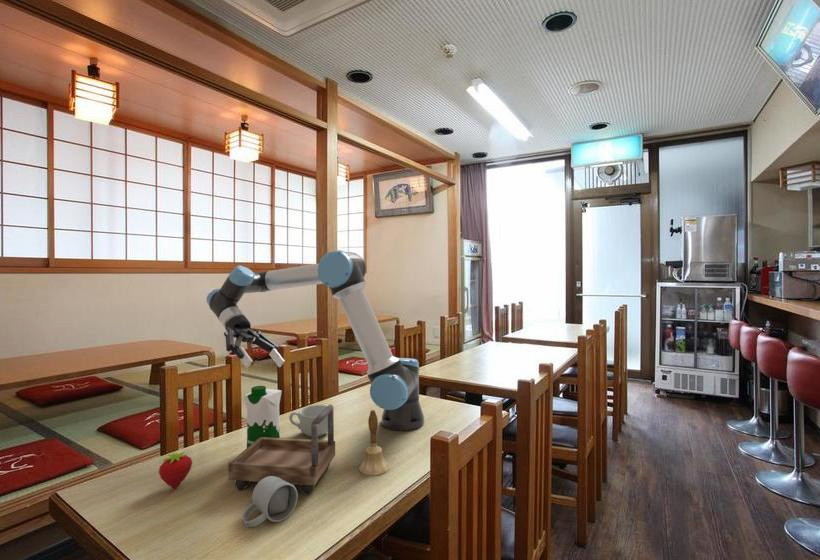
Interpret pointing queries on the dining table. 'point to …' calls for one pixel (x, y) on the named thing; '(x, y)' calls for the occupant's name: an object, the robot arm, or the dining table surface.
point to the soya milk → (262, 413)
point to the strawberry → (175, 469)
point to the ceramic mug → (271, 501)
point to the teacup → (310, 419)
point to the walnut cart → (286, 458)
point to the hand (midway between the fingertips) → (266, 364)
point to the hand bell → (373, 452)
